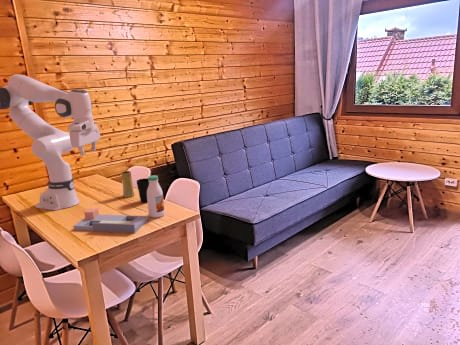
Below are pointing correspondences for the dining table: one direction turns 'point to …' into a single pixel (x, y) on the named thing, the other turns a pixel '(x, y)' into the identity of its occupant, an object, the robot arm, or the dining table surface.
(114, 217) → the board
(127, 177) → the vase
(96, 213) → the block
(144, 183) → the cup
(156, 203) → the milk bottle
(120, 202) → the dining table surface
